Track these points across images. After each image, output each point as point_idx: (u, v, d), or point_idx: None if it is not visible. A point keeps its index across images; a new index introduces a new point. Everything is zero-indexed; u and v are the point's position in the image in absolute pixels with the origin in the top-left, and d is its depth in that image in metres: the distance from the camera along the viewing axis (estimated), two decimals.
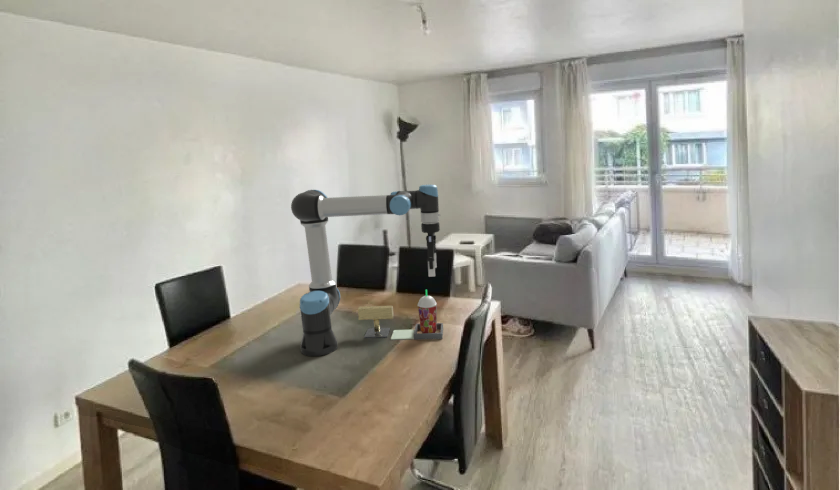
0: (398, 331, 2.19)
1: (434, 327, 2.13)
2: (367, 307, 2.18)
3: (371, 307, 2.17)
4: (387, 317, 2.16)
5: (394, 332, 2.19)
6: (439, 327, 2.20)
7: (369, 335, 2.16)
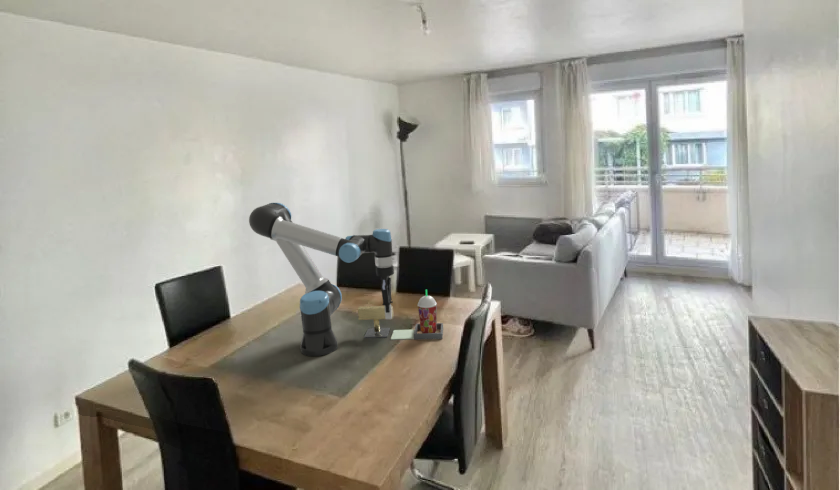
0: (398, 331, 2.19)
1: (434, 327, 2.13)
2: (367, 307, 2.18)
3: (371, 307, 2.17)
4: None
5: (394, 332, 2.19)
6: (439, 327, 2.20)
7: (369, 335, 2.16)
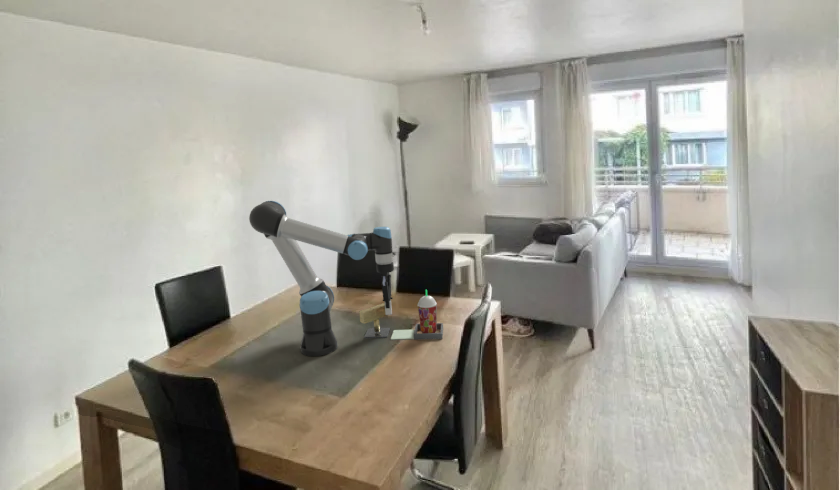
0: (398, 331, 2.19)
1: (434, 327, 2.13)
2: (368, 309, 2.15)
3: (373, 308, 2.15)
4: None
5: (394, 332, 2.19)
6: (439, 327, 2.20)
7: (369, 335, 2.16)
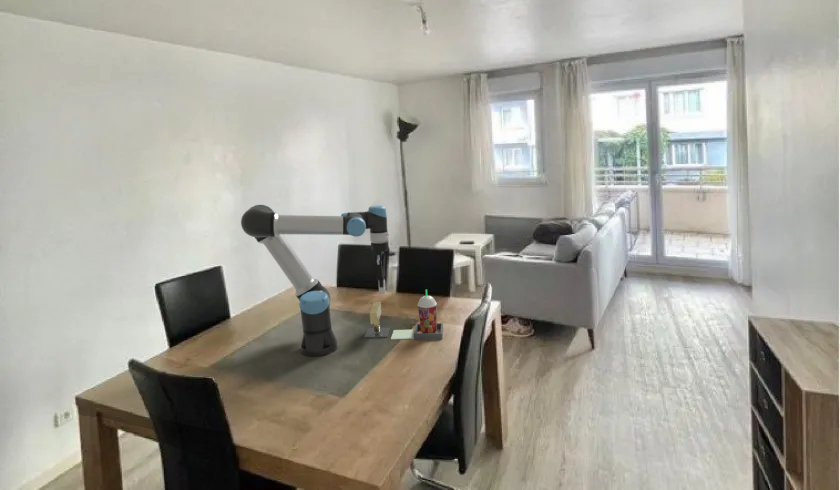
0: (398, 331, 2.19)
1: (434, 327, 2.13)
2: (374, 309, 2.14)
3: (376, 308, 2.15)
4: (380, 312, 2.23)
5: (394, 332, 2.19)
6: (439, 327, 2.20)
7: (369, 335, 2.16)
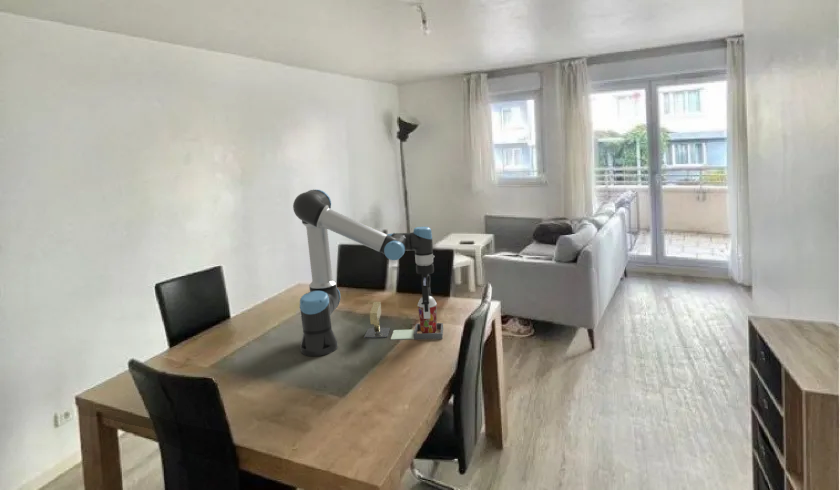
0: (398, 331, 2.19)
1: (434, 327, 2.13)
2: (374, 309, 2.14)
3: (376, 308, 2.15)
4: (380, 312, 2.23)
5: (394, 332, 2.19)
6: (439, 327, 2.20)
7: (369, 335, 2.16)
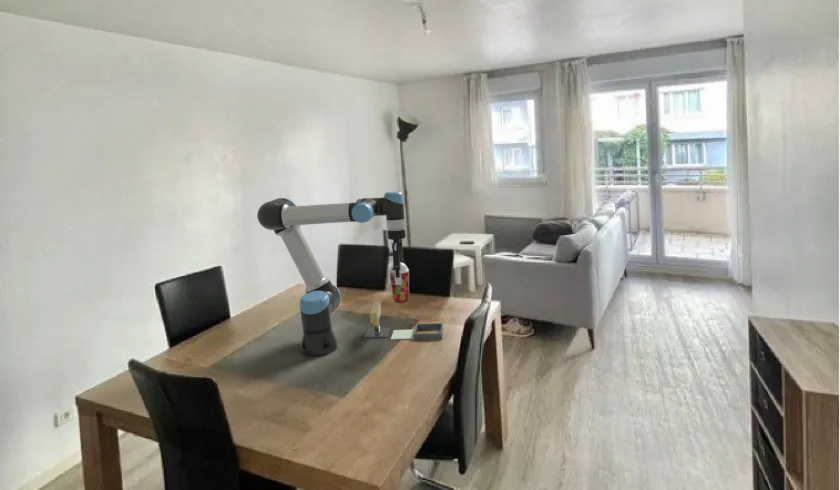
0: (398, 331, 2.19)
1: (406, 294, 2.10)
2: (374, 309, 2.14)
3: (376, 308, 2.15)
4: (380, 312, 2.23)
5: (394, 332, 2.19)
6: (439, 327, 2.20)
7: (369, 335, 2.16)
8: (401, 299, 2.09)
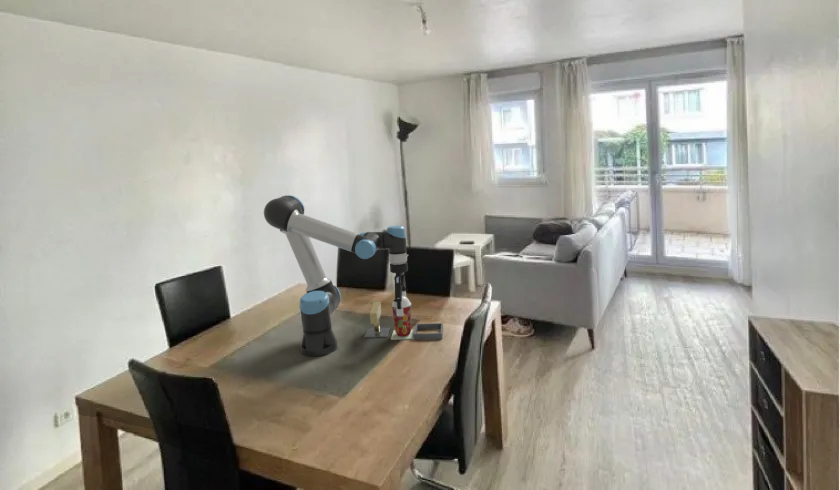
0: None
1: (408, 327, 2.13)
2: (374, 309, 2.14)
3: (376, 308, 2.15)
4: (380, 312, 2.23)
5: (394, 332, 2.19)
6: (439, 327, 2.20)
7: (369, 335, 2.16)
8: (403, 332, 2.12)
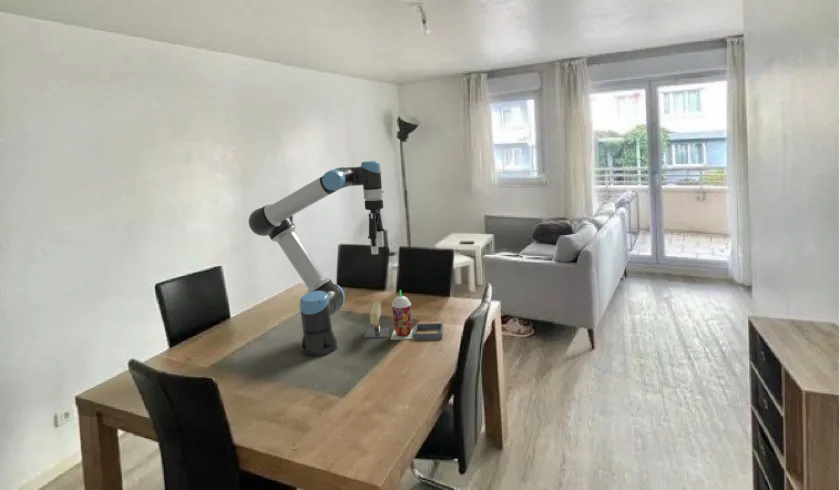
0: None
1: (408, 327, 2.13)
2: (374, 309, 2.14)
3: (376, 308, 2.15)
4: (380, 312, 2.23)
5: (394, 332, 2.19)
6: (439, 327, 2.20)
7: (369, 335, 2.16)
8: (403, 332, 2.12)
